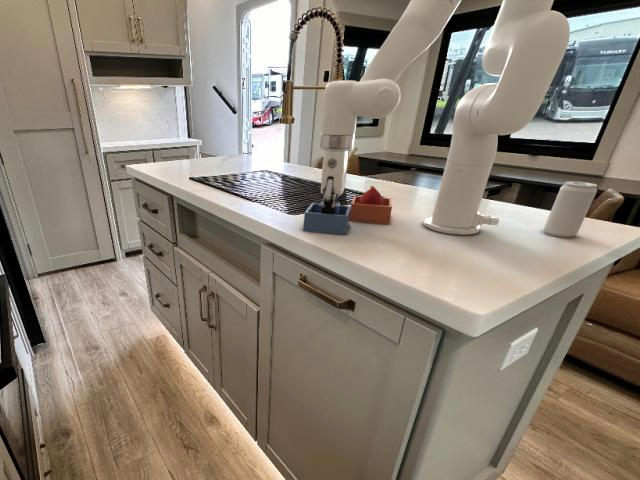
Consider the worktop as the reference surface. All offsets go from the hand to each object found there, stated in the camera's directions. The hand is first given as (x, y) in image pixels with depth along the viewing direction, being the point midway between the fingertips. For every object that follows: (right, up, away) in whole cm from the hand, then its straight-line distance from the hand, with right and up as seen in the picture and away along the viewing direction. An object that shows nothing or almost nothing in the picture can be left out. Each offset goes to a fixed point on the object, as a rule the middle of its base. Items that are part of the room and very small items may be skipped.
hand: (328, 219), depth 91 cm
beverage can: (+55, -5, -4) cm, 55 cm away
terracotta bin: (+14, +3, +9) cm, 16 cm away
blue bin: (0, -2, +1) cm, 2 cm away
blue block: (0, 0, 0) cm, 0 cm away
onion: (+13, +3, +9) cm, 16 cm away
